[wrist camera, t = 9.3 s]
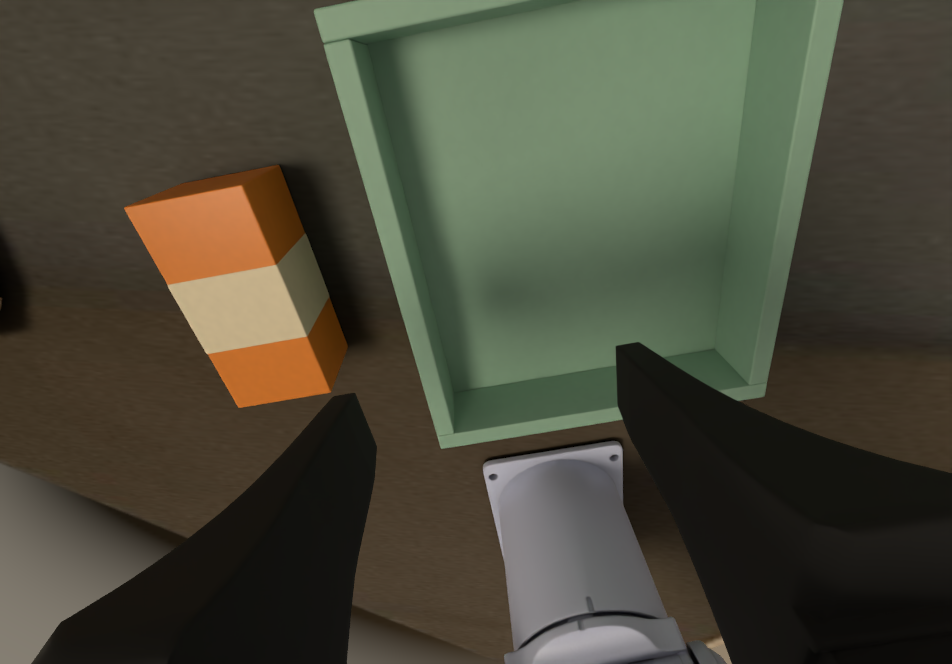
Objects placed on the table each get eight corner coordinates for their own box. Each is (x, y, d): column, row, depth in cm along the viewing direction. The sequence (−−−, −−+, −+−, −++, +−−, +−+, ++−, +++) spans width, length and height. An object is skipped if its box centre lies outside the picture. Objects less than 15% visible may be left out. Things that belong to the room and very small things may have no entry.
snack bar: (349, 346, 22) (331, 393, 18) (268, 360, 22) (237, 409, 19) (280, 164, 17) (242, 184, 14) (180, 183, 17) (121, 207, 14)
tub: (722, 352, 23) (764, 397, 20) (442, 399, 23) (440, 449, 20) (777, -69, 14) (866, -108, 11) (340, 21, 15) (312, 9, 12)
